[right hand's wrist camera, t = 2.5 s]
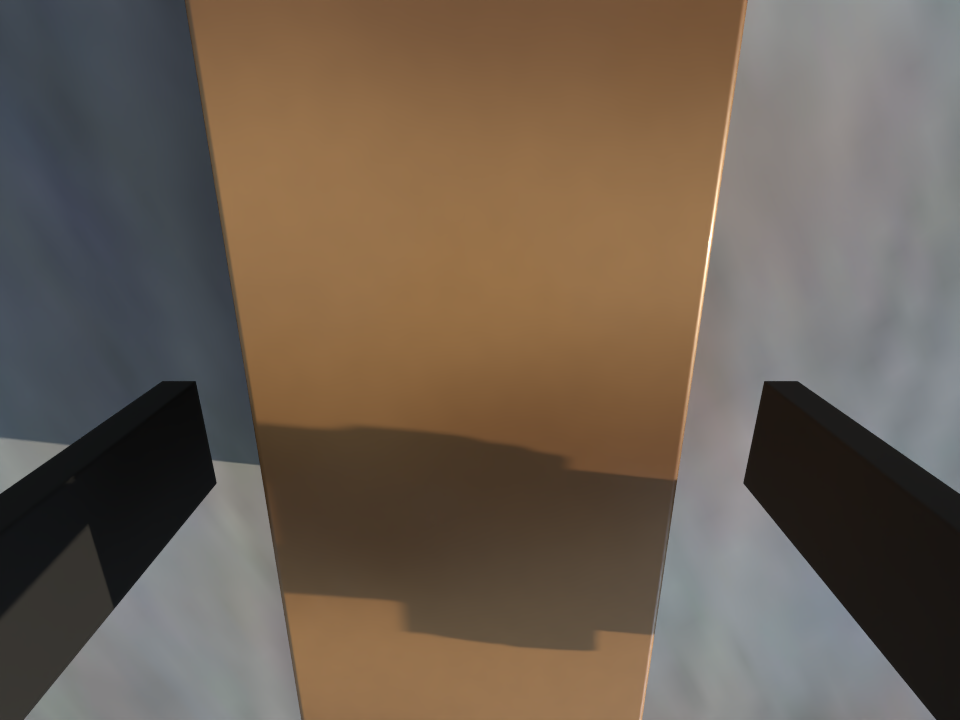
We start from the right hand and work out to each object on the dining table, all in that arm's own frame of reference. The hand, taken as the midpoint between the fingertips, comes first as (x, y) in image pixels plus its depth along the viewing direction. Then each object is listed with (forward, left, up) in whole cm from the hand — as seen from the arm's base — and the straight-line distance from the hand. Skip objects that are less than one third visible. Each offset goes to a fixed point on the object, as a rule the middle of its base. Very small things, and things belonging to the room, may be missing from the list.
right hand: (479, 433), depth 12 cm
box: (+3, +6, -4) cm, 8 cm away
